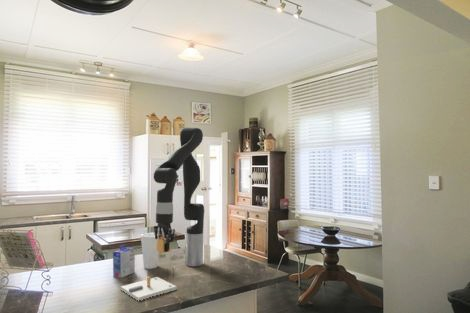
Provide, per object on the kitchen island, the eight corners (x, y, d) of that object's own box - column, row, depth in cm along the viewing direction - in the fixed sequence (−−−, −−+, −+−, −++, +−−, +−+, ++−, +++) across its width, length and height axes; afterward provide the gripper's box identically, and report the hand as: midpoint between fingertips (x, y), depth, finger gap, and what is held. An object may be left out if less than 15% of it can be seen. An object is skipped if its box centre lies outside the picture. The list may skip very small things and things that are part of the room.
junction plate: (120, 290, 142) (120, 277, 142) (157, 280, 154) (157, 268, 154) (138, 301, 130) (138, 287, 130) (176, 289, 143) (176, 277, 143)
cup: (136, 268, 171) (136, 235, 172) (148, 262, 181) (148, 231, 181) (153, 271, 167) (154, 237, 168) (165, 265, 177) (165, 233, 177)
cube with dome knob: (156, 251, 146) (157, 236, 147) (165, 249, 150) (165, 235, 150) (162, 253, 143) (162, 238, 144) (170, 251, 147) (170, 236, 147)
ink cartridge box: (126, 270, 167) (127, 242, 167) (135, 272, 165) (135, 243, 165) (112, 276, 158) (112, 246, 158) (120, 278, 156) (121, 248, 156)
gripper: (148, 211, 150) (147, 249, 149) (166, 214, 140) (165, 254, 139) (162, 210, 155) (161, 246, 154) (180, 213, 145) (179, 252, 144)
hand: (163, 250), depth 146 cm, fingers closed on cube with dome knob, 4 cm apart
